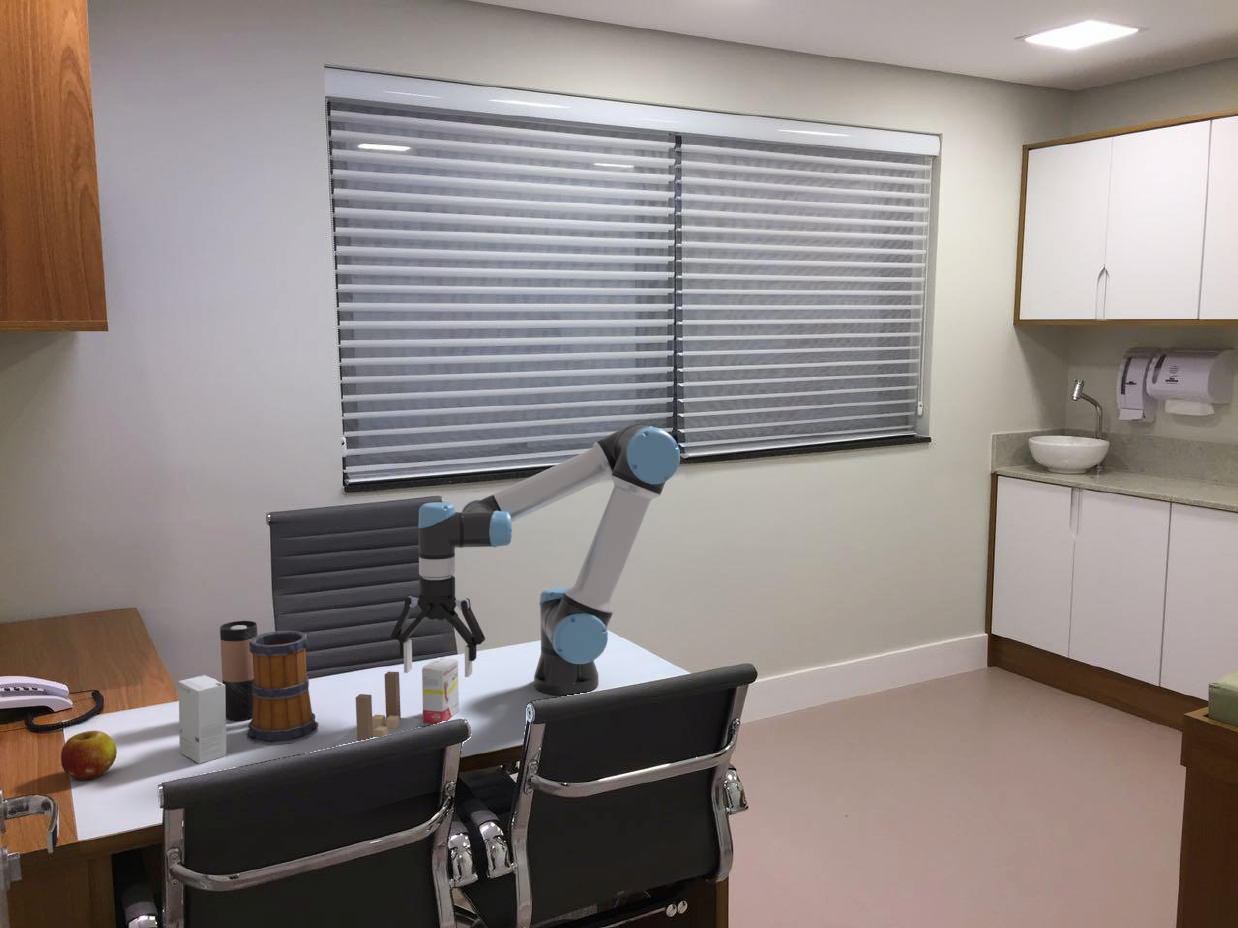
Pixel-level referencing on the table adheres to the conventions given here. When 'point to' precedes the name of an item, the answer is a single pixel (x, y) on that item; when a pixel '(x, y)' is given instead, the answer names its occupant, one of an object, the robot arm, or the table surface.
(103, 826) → the table surface
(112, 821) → the table surface
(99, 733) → the fruit
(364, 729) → the peg cradle
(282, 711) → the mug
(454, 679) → the ink box
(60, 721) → the table surface
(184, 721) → the skincare box
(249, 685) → the travel mug
